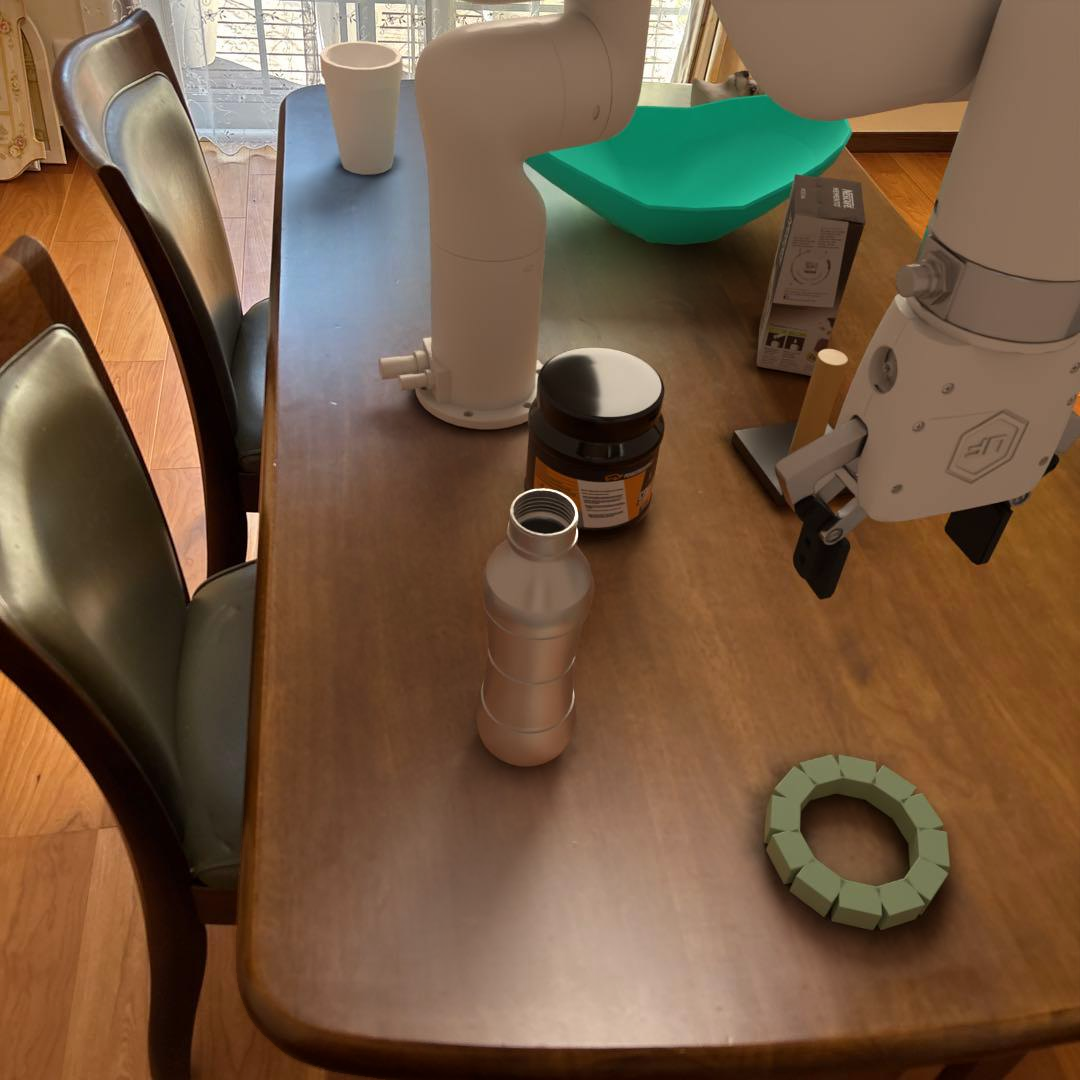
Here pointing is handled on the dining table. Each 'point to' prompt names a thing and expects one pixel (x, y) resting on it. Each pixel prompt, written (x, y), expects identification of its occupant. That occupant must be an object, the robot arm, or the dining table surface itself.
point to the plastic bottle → (533, 630)
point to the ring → (821, 883)
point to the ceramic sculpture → (724, 89)
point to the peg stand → (794, 425)
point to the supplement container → (597, 436)
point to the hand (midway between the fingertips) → (889, 563)
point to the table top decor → (695, 167)
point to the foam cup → (363, 102)
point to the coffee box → (810, 272)
